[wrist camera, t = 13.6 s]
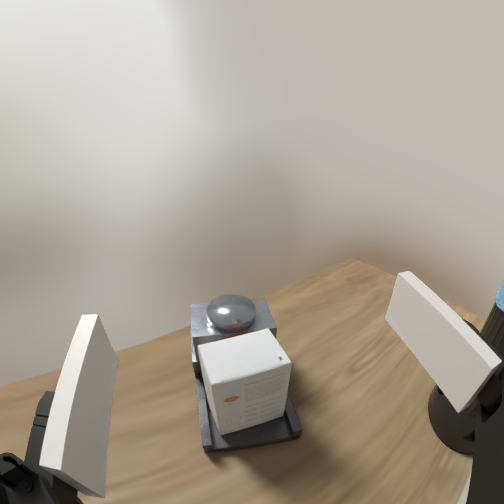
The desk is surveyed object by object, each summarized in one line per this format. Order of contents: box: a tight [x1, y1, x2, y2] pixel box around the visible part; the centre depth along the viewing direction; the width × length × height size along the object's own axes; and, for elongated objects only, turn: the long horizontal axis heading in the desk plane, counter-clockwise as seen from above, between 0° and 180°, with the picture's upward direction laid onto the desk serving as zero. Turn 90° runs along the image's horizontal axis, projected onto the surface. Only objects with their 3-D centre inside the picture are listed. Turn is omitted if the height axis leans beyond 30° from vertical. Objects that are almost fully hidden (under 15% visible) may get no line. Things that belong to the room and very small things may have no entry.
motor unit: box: [190, 295, 302, 453], centre depth 32 cm, size 11×18×10 cm, turn 11°
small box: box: [197, 328, 292, 435], centre depth 28 cm, size 8×6×10 cm
